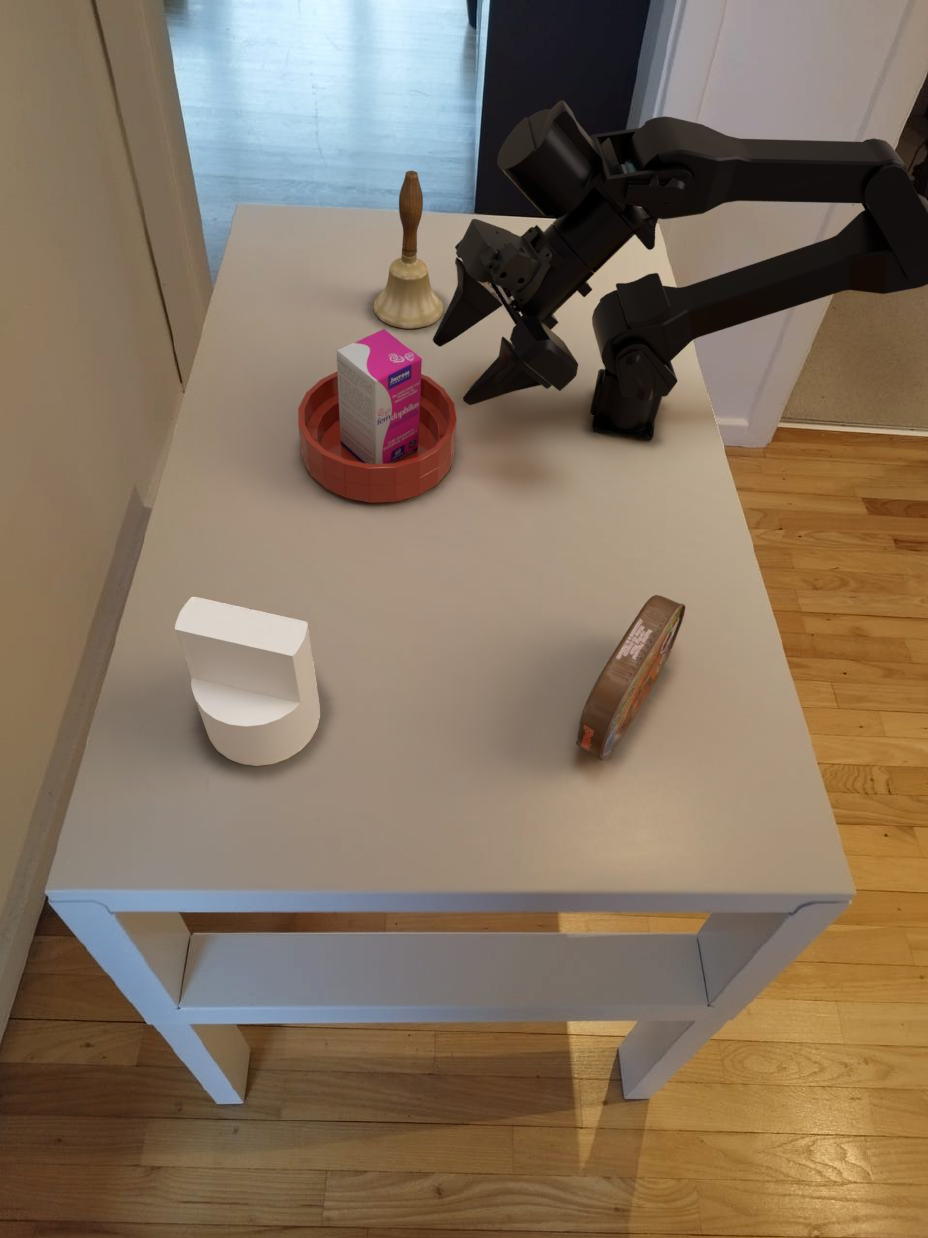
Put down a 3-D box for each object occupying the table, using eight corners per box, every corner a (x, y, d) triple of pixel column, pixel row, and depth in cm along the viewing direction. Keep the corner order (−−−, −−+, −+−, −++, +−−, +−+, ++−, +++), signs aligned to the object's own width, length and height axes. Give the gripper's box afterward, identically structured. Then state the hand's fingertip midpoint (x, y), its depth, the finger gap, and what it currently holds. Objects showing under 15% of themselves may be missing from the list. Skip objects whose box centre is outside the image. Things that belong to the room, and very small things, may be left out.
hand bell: (402, 280, 108) (402, 146, 95) (457, 306, 105) (464, 172, 93) (358, 310, 104) (353, 174, 91) (414, 338, 101) (416, 202, 88)
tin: (596, 780, 68) (617, 725, 62) (561, 760, 69) (578, 704, 62) (674, 649, 76) (700, 588, 70) (641, 632, 77) (664, 570, 70)
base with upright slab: (335, 681, 72) (325, 590, 63) (298, 777, 67) (281, 693, 57) (231, 658, 73) (206, 564, 64) (186, 750, 68) (151, 663, 58)
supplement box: (376, 476, 86) (373, 381, 77) (339, 444, 89) (332, 348, 80) (421, 451, 89) (423, 355, 80) (384, 420, 91) (382, 325, 82)
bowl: (466, 417, 93) (469, 378, 89) (435, 518, 84) (437, 480, 80) (328, 392, 94) (325, 353, 90) (282, 490, 85) (276, 451, 81)
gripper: (482, 140, 77) (365, 272, 83) (563, 253, 67) (423, 394, 73) (553, 215, 85) (441, 331, 92) (635, 327, 75) (503, 449, 81)
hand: (450, 371), depth 84 cm, fingers open, 9 cm apart
